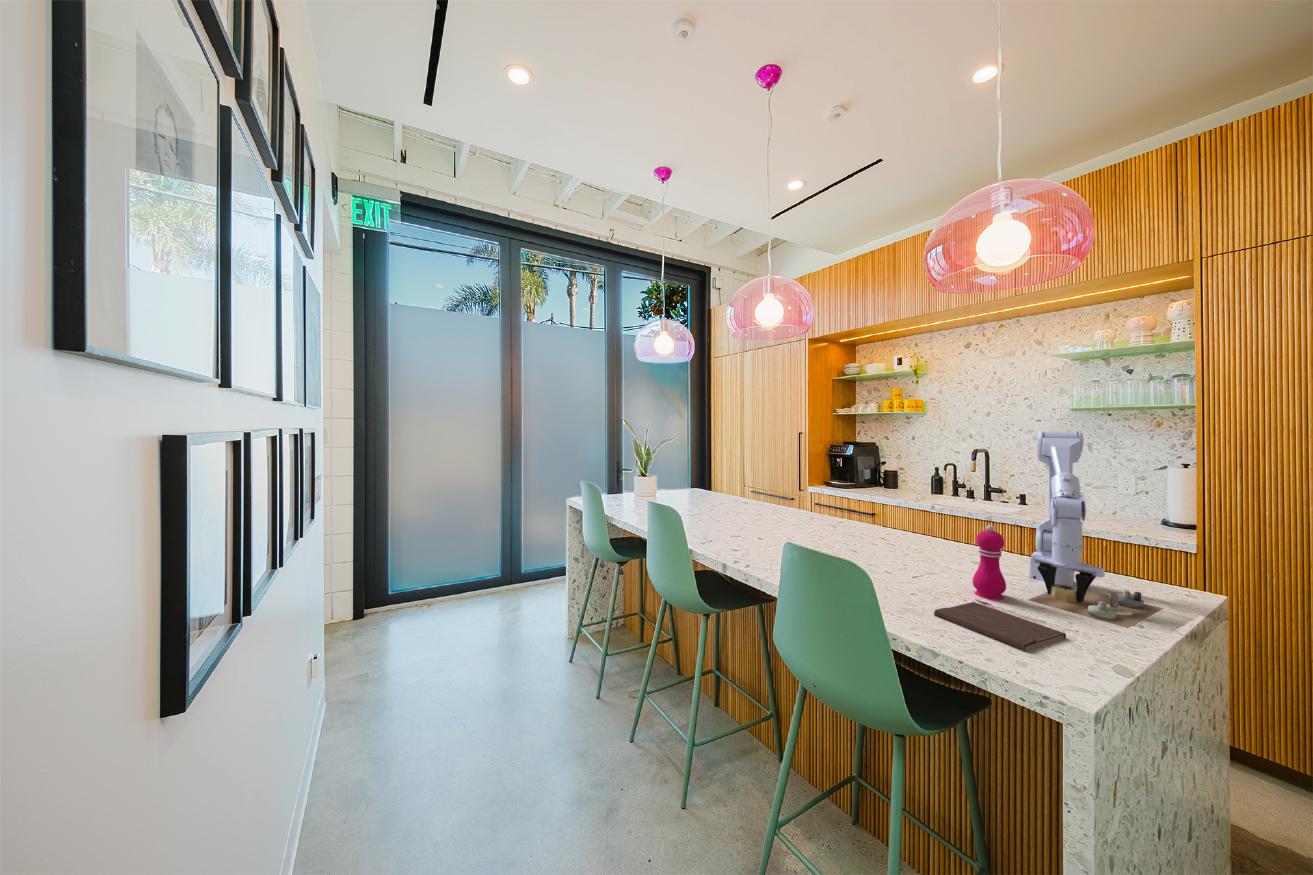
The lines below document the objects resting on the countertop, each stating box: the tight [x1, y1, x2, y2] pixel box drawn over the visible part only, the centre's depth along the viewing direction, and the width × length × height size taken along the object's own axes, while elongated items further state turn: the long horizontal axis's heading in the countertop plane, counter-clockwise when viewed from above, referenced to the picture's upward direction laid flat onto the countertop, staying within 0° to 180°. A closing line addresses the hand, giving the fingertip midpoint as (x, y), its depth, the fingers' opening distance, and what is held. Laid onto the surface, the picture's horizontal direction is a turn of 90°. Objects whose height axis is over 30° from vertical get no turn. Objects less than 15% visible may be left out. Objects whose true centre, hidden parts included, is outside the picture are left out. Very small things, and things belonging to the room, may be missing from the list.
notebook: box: [933, 601, 1067, 652], centre depth 110 cm, size 15×20×2 cm
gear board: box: [1027, 589, 1164, 629], centre depth 119 cm, size 19×22×6 cm
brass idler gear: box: [1050, 583, 1078, 603], centre depth 122 cm, size 5×5×3 cm
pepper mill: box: [972, 524, 1007, 606], centre depth 125 cm, size 7×7×20 cm
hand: (1065, 597), depth 123 cm, fingers closed on brass idler gear, 5 cm apart
